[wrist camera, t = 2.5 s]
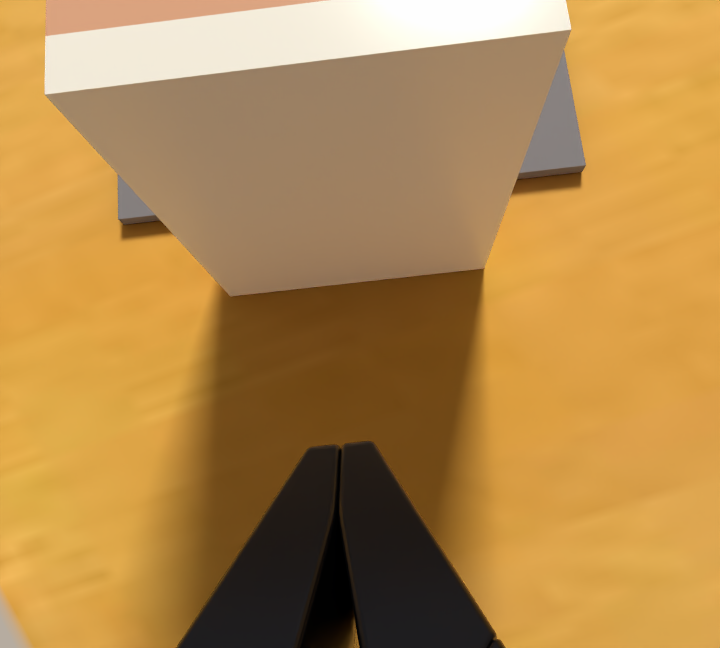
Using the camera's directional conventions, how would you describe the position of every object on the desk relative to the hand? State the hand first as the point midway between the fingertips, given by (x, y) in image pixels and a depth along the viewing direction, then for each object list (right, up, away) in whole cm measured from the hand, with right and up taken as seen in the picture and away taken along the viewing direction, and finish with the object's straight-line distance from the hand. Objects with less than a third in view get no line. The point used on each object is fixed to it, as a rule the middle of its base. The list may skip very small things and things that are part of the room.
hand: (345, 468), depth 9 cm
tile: (0, +4, +10) cm, 11 cm away
